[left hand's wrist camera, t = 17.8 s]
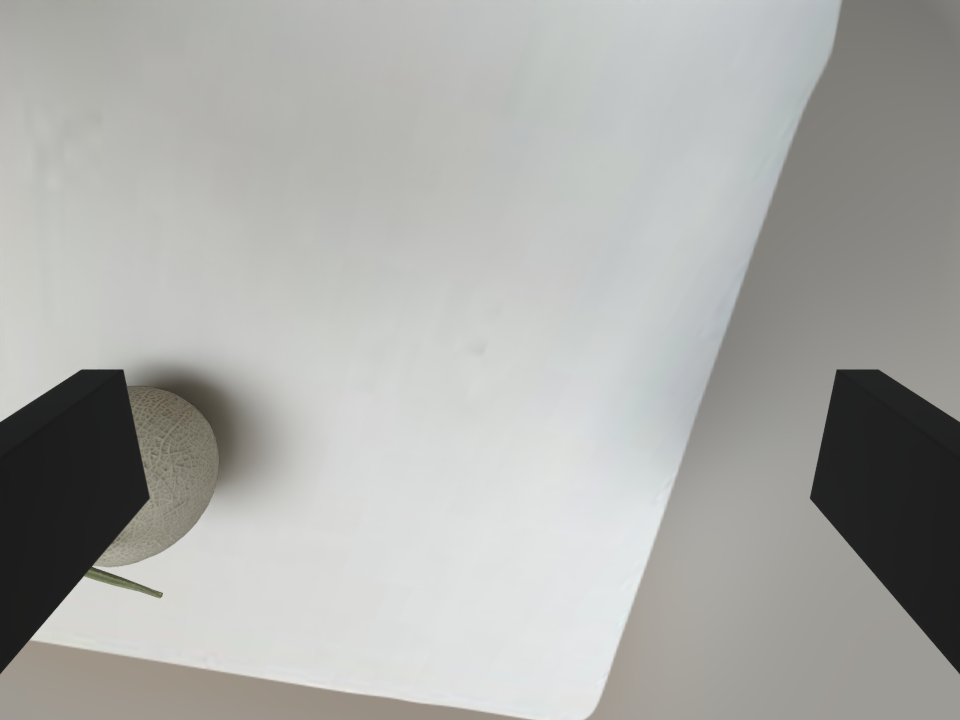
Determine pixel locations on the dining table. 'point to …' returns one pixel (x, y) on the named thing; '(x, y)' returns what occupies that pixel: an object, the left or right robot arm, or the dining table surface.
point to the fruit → (164, 480)
